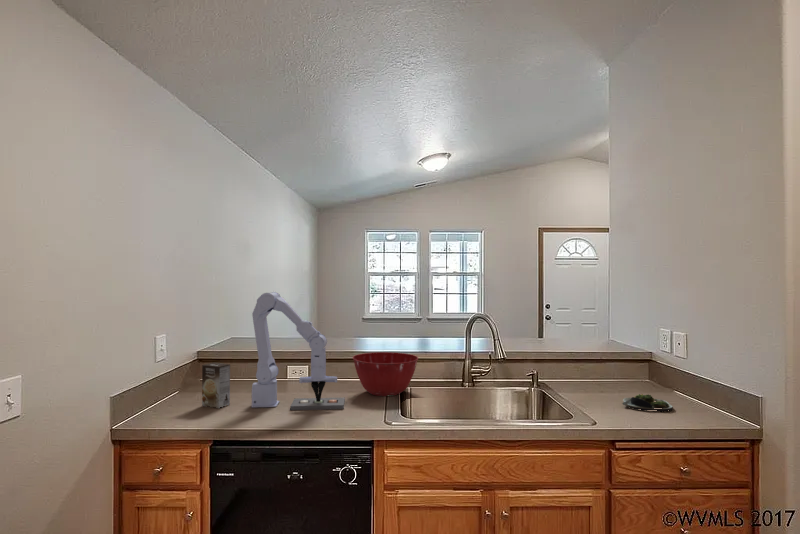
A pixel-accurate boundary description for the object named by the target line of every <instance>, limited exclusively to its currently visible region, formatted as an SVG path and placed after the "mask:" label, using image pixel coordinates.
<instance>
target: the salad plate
mask: <svg viewBox="0 0 800 534" xmlns="http://www.w3.org/2000/svg"><path fill="white" fill-rule="evenodd" d="M654 401H656V402H654ZM621 404H622V405H623V406H625V407H627V408H628V407H630V408H634V409H641V410H657V411H668V410H671V411H672V410H673V409H674V407H673V405H672V404H670V402H668V401H667V400H664V399H659V398H654V397H653V396H652V395H651V394H643V393H641V394H640V393H639V394H636V395H635V396H632V397H624V398H623V399H622V403H621ZM630 408H629V409H630ZM654 408H662V409H654ZM634 409H633V410H634Z"/></svg>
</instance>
